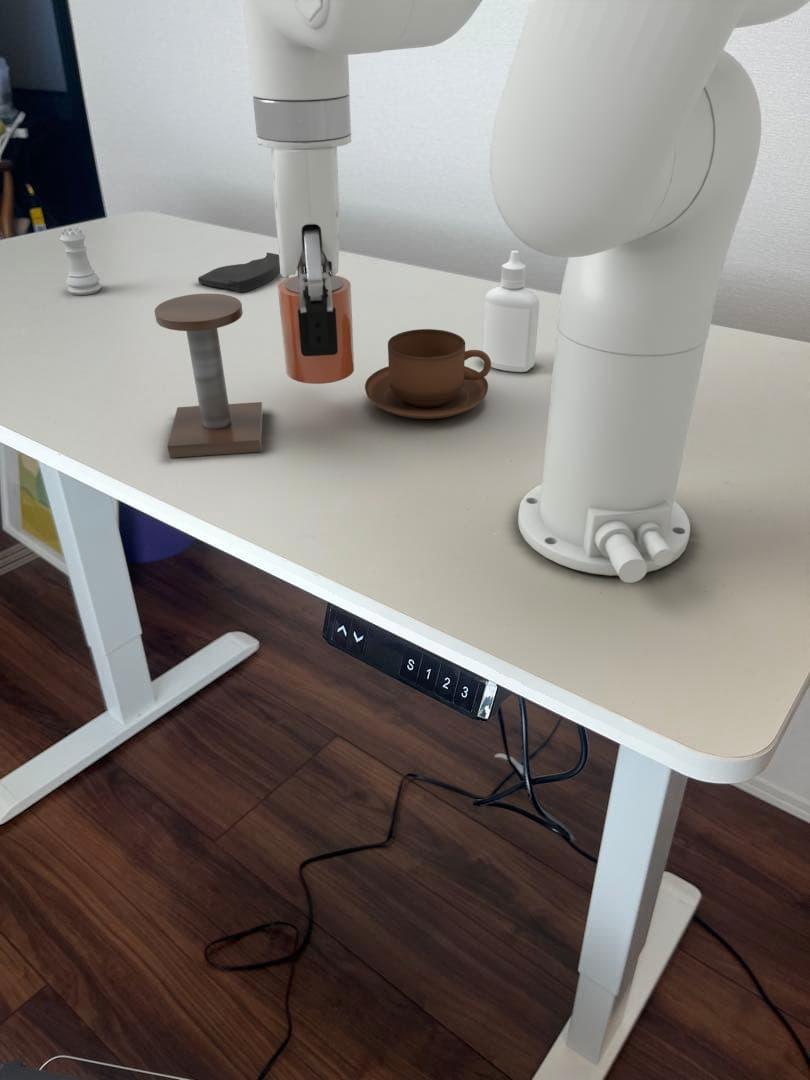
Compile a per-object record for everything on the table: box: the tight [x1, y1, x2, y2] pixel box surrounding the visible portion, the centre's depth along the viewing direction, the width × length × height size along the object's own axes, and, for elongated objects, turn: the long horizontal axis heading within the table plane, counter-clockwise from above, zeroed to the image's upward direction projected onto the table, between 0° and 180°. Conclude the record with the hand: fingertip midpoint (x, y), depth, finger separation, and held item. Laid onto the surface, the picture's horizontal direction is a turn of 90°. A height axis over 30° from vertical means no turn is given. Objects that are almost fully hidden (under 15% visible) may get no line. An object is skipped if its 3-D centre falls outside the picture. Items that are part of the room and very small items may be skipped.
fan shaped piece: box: [197, 252, 280, 293], centre depth 115 cm, size 8×14×2 cm, turn 147°
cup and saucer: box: [364, 328, 492, 420], centre depth 79 cm, size 12×12×6 cm
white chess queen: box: [59, 227, 103, 296], centre depth 109 cm, size 4×4×8 cm
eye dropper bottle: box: [481, 250, 540, 373], centre depth 85 cm, size 4×6×12 cm
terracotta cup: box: [277, 274, 355, 385], centre depth 74 cm, size 6×6×8 cm
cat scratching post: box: [154, 293, 264, 459], centre depth 72 cm, size 8×8×12 cm
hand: (318, 337), depth 75 cm, fingers closed on terracotta cup, 6 cm apart
